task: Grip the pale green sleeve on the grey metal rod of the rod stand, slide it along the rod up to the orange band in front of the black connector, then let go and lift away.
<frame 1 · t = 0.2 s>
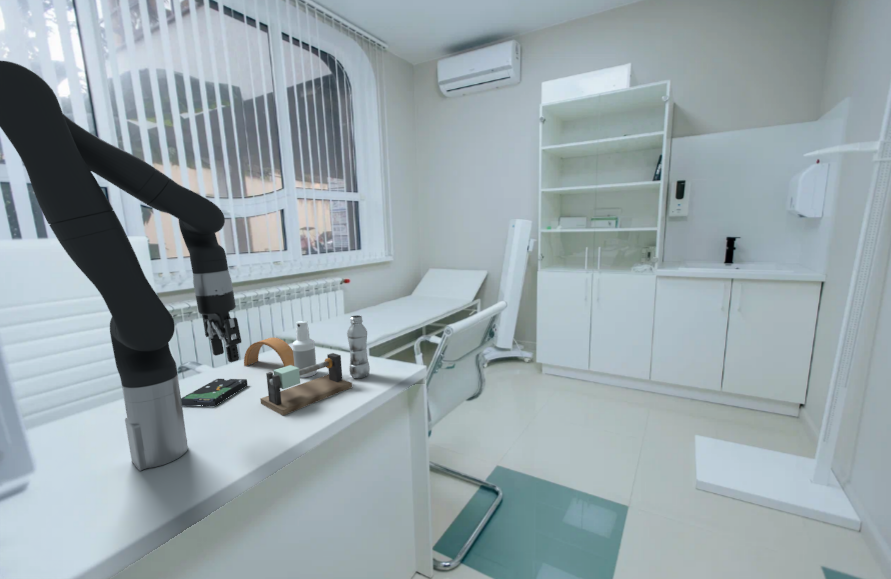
hand: (226, 357, 91), 18 cm above the table, tool pointing down, fingers open, 8 cm apart
plastic bottle: (360, 377, 124), on the table
arch: (271, 367, 136), on the table
spray bottle: (306, 374, 127), on the table
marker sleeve: (286, 376, 105), point 8 cm above the table, slide at 0.0 cm
rod stand: (308, 395, 110), on the table
disk drive: (216, 397, 113), on the table
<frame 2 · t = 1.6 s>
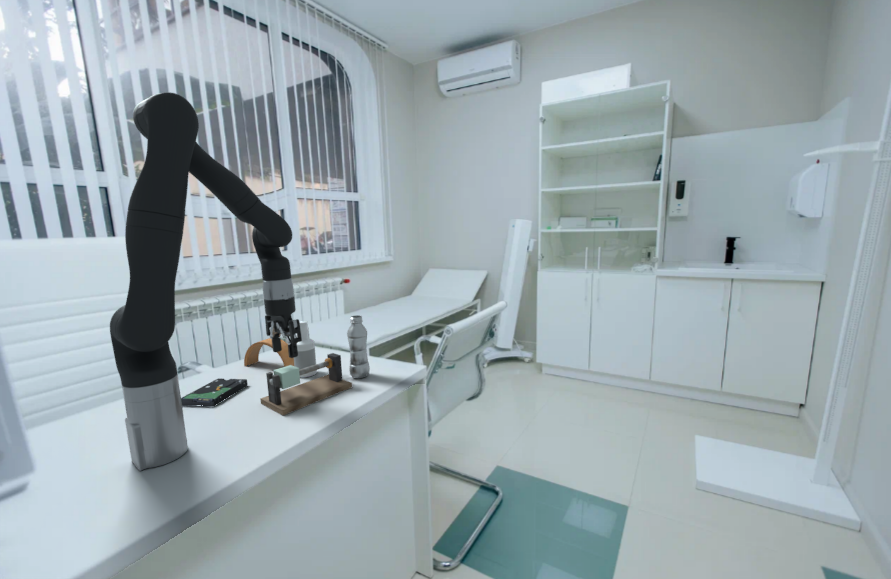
hand: (285, 354, 104), 14 cm above the table, tool pointing down, fingers open, 8 cm apart
nothing on the table moved.
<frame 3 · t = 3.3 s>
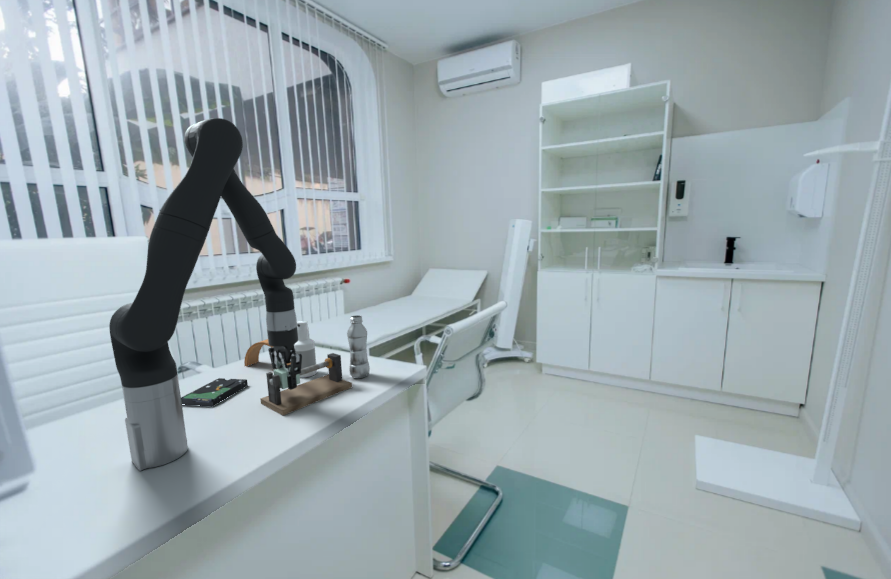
hand: (287, 386, 105), 5 cm above the table, tool pointing down, fingers closed on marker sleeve, 4 cm apart
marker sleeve: (286, 376, 105), point 8 cm above the table, slide at 0.0 cm, touching gripper
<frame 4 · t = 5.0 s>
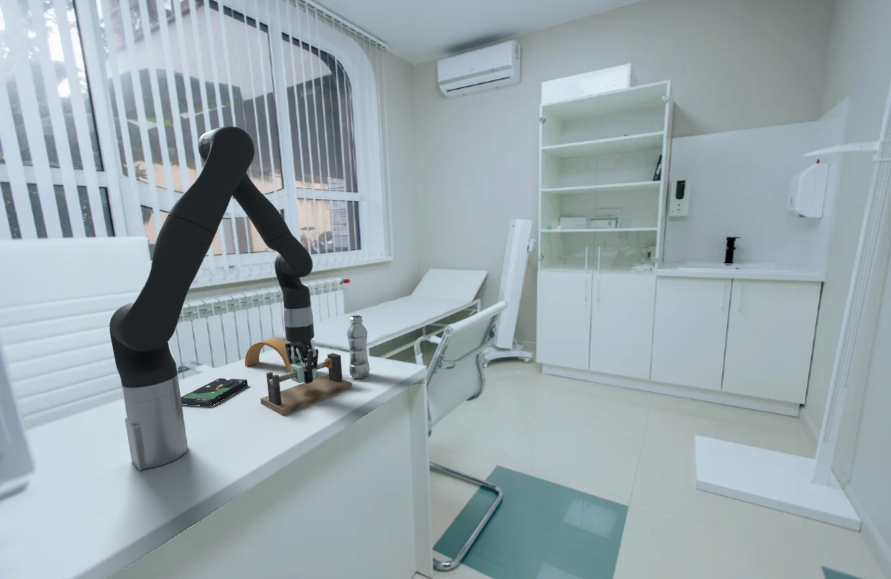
hand: (304, 380, 109), 5 cm above the table, tool pointing down, fingers closed on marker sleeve, 4 cm apart
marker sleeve: (303, 371, 109), point 8 cm above the table, slide at 4.9 cm, touching gripper
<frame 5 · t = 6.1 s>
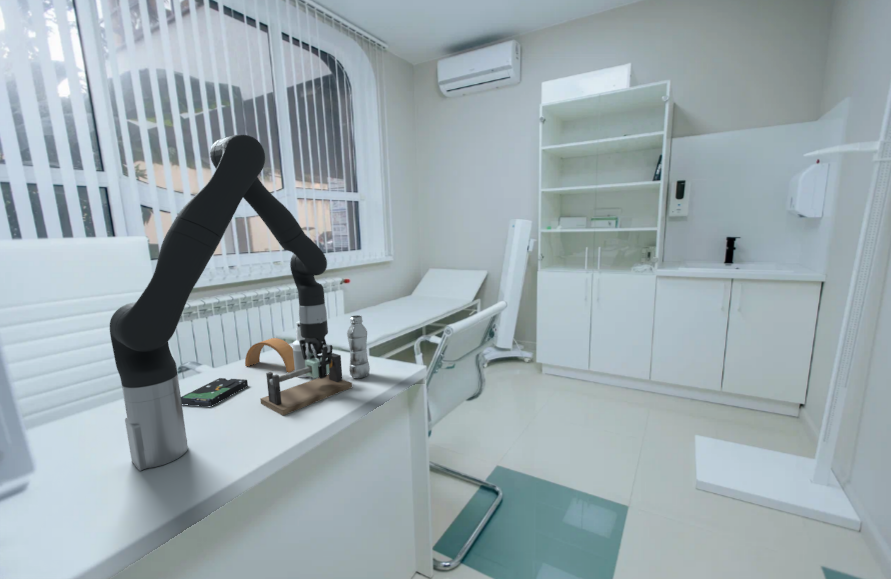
hand: (318, 375, 112), 5 cm above the table, tool pointing down, fingers closed on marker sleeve, 4 cm apart
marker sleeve: (317, 366, 112), point 8 cm above the table, slide at 9.5 cm, touching gripper
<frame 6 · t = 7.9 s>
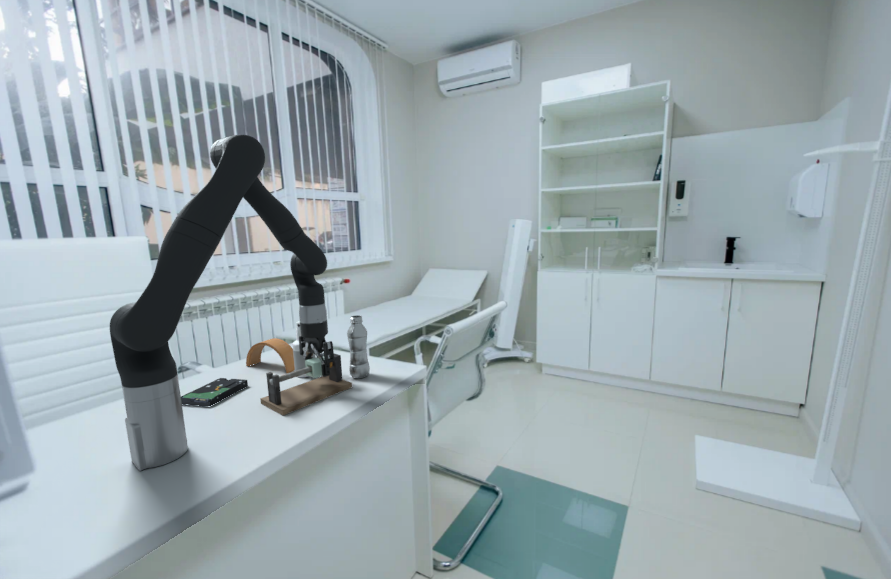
hand: (317, 372, 112), 6 cm above the table, tool pointing down, fingers open, 8 cm apart
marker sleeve: (317, 366, 112), point 7 cm above the table, slide at 9.5 cm
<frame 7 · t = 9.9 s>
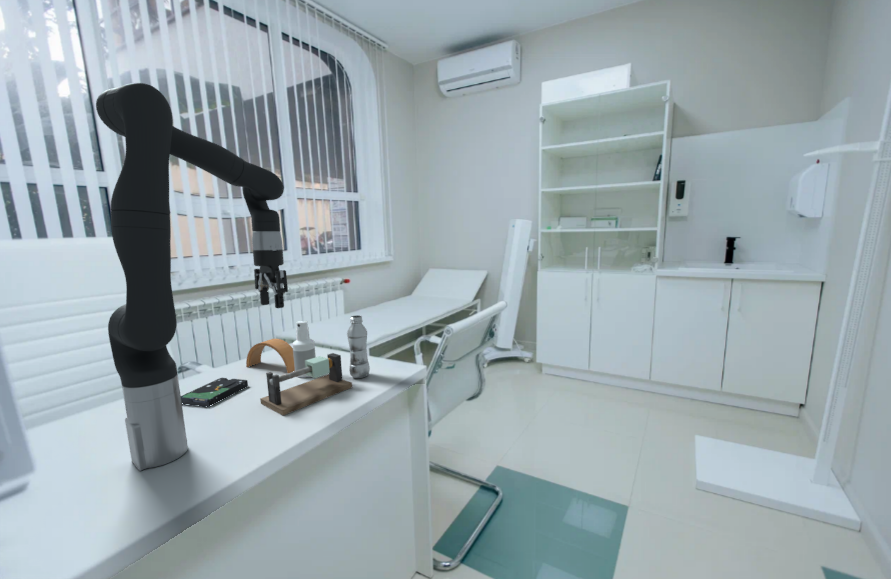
hand: (272, 306, 107), 26 cm above the table, tool pointing down, fingers open, 8 cm apart
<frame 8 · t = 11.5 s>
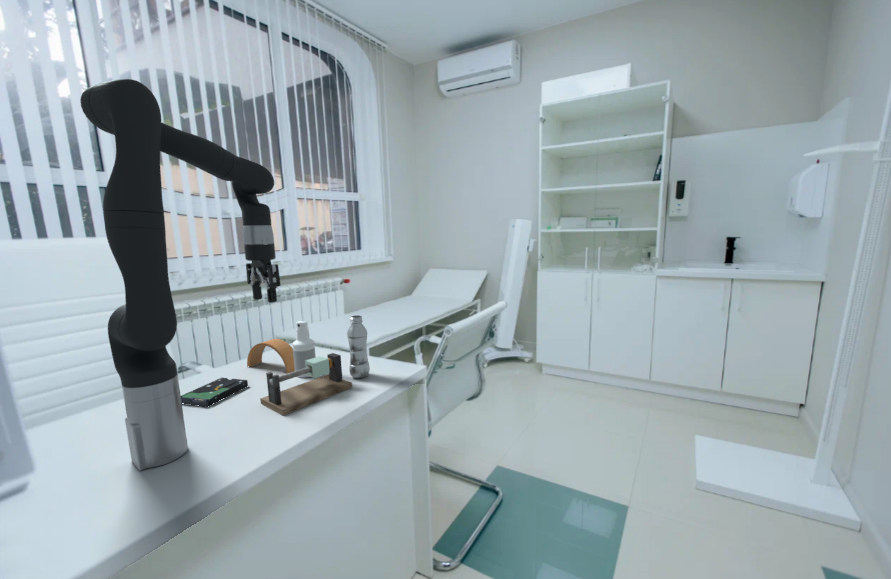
hand: (265, 300, 107), 28 cm above the table, tool pointing down, fingers open, 8 cm apart
at the end: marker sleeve slide at 9.5 cm; the gripper is holding nothing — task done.
